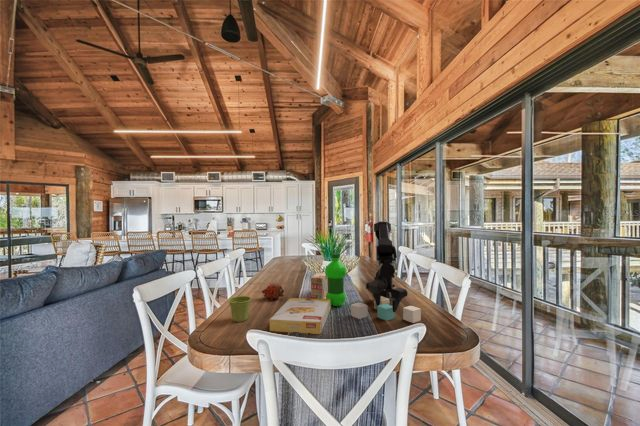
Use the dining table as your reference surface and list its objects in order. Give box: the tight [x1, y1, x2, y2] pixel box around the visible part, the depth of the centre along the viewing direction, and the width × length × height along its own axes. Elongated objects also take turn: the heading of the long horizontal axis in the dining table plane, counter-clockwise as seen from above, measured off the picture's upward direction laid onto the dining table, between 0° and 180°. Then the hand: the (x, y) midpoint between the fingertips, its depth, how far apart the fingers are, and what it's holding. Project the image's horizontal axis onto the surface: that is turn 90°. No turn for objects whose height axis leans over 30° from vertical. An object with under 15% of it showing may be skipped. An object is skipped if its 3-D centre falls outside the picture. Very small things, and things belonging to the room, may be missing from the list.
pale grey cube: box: [350, 301, 368, 320], centre depth 124 cm, size 5×5×5 cm
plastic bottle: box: [324, 252, 347, 307], centre depth 139 cm, size 10×10×25 cm
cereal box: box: [268, 297, 332, 335], centre depth 121 cm, size 20×6×28 cm
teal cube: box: [376, 304, 395, 322], centre depth 122 cm, size 5×5×5 cm
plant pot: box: [228, 295, 252, 323], centre depth 121 cm, size 9×9×9 cm
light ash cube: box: [373, 296, 391, 310], centre depth 133 cm, size 5×5×5 cm
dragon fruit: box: [261, 283, 285, 301], centre depth 150 cm, size 8×8×12 cm
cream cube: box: [402, 305, 422, 324], centre depth 119 cm, size 5×5×5 cm
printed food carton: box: [310, 272, 328, 299], centre depth 156 cm, size 21×6×12 cm, turn 165°
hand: (385, 309), depth 122 cm, fingers open, 9 cm apart
